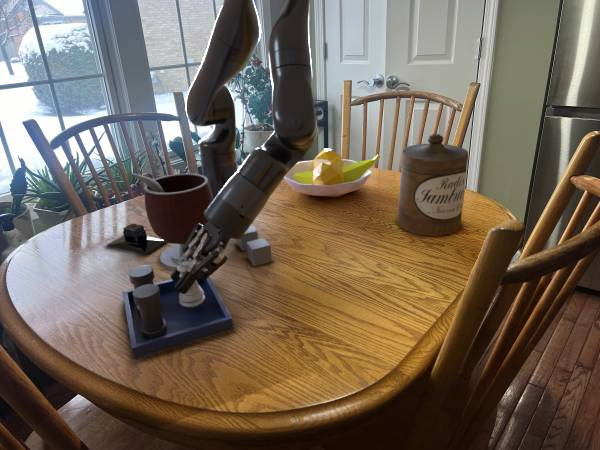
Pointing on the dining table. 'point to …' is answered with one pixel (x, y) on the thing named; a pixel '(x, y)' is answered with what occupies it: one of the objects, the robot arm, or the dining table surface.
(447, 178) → the wooden container
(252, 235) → the grey block far
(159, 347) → the tray
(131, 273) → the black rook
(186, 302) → the rook chess piece
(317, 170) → the fruit bowl
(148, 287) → the dark grey cylinder
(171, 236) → the mate gourd
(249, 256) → the grey block near
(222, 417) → the dining table surface
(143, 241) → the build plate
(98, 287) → the dining table surface
